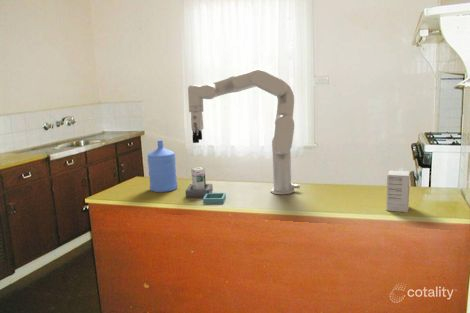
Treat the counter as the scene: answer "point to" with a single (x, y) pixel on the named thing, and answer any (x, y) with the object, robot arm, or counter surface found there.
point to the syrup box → (198, 178)
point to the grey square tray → (198, 191)
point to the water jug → (162, 169)
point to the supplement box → (398, 191)
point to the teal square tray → (214, 198)
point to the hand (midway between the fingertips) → (197, 141)
